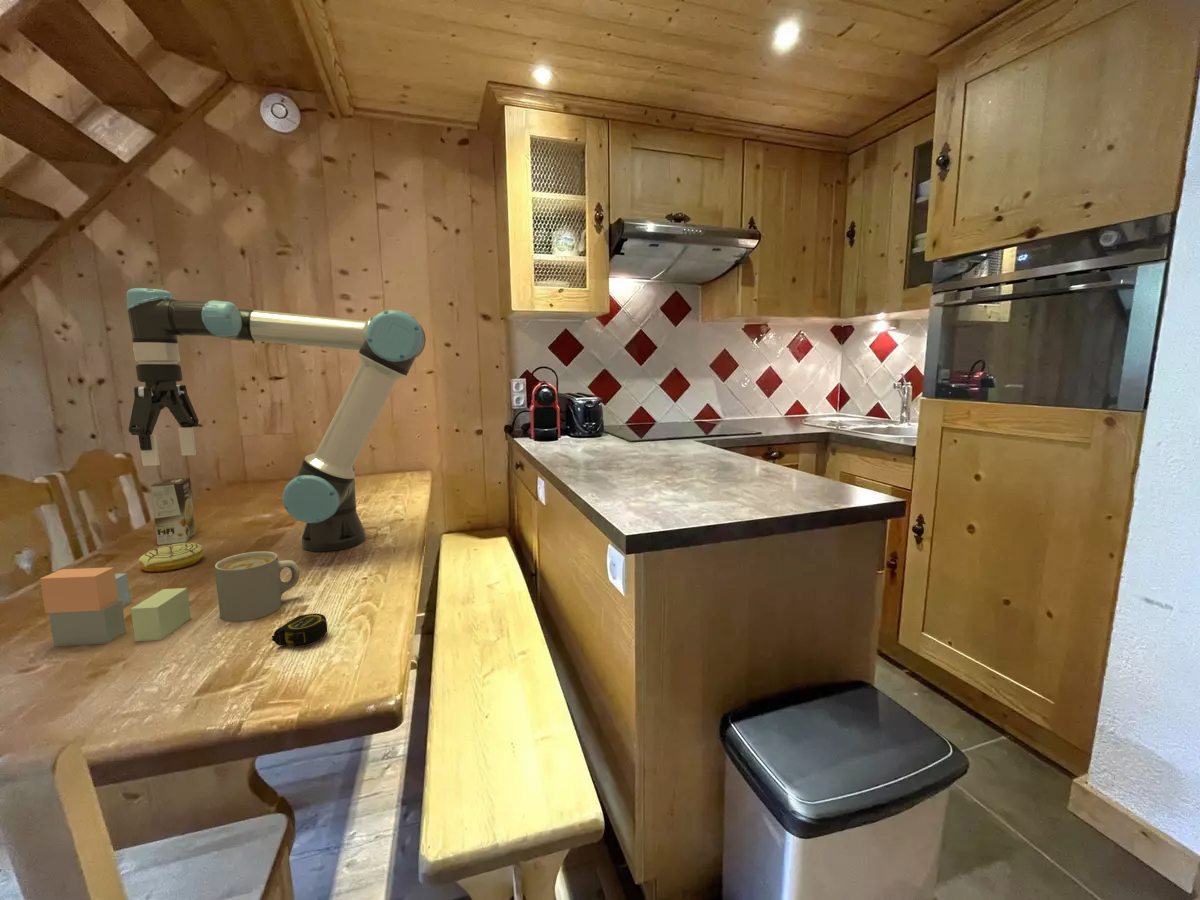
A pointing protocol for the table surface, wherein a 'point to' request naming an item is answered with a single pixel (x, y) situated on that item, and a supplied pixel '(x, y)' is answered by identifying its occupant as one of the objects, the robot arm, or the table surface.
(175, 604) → the brick sage
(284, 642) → the tape measure
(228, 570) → the coffee mug
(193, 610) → the table surface
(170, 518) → the coffee box
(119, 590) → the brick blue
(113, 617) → the brick slate
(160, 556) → the decorated donut
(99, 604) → the brick terracotta
